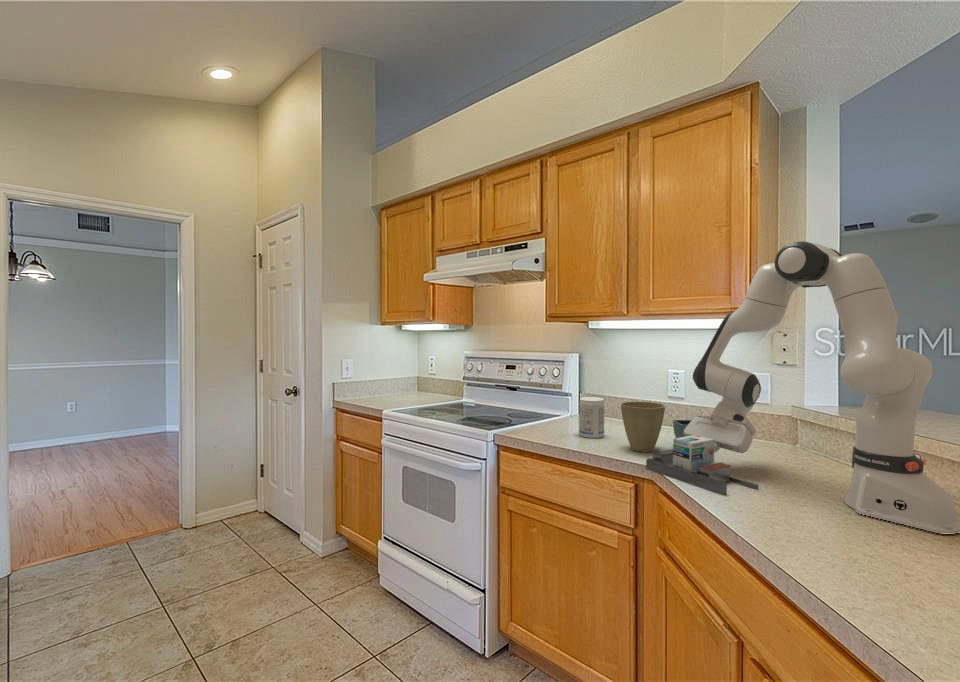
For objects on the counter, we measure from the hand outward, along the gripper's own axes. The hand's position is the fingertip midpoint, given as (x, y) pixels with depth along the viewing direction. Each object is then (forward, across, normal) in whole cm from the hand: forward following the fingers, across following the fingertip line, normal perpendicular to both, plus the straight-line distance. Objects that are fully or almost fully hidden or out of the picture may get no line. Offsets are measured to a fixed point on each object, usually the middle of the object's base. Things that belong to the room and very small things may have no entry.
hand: (704, 455), depth 150 cm
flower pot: (-11, -22, +18) cm, 30 cm away
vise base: (+8, +4, -2) cm, 9 cm away
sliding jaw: (+8, +8, -1) cm, 12 cm away
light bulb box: (+8, +1, -1) cm, 8 cm away
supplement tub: (+3, -51, +4) cm, 51 cm away
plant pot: (+2, -27, +5) cm, 28 cm away
